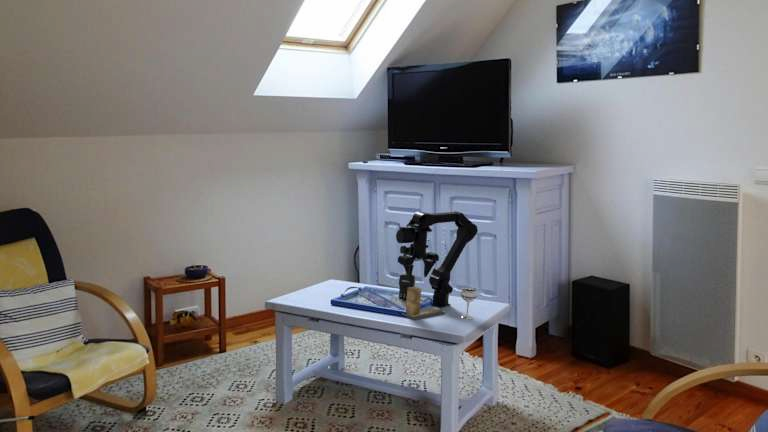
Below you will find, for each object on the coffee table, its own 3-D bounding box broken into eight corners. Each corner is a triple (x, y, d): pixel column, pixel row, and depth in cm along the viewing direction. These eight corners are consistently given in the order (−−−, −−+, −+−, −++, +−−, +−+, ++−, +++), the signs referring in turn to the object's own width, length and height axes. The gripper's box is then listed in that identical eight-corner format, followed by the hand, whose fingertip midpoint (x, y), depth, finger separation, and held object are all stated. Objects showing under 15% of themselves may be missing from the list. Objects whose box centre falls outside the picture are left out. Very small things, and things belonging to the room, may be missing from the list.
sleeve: (413, 312, 278) (414, 286, 276) (419, 314, 275) (421, 288, 273) (405, 313, 276) (407, 287, 274) (412, 316, 272) (414, 290, 271)
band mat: (427, 306, 289) (427, 303, 289) (445, 313, 281) (445, 310, 280) (397, 312, 278) (397, 308, 278) (414, 320, 270) (414, 316, 270)
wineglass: (464, 313, 282) (466, 286, 280) (478, 317, 278) (480, 289, 276) (455, 316, 277) (457, 288, 275) (469, 321, 273) (472, 292, 271)
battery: (396, 298, 298) (398, 273, 296) (399, 296, 301) (401, 271, 299) (411, 301, 295) (413, 276, 294) (414, 299, 299) (416, 274, 297)
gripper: (423, 236, 293) (420, 271, 296) (390, 240, 282) (388, 276, 284) (441, 241, 285) (438, 277, 287) (407, 245, 273) (405, 282, 276)
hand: (417, 278), depth 284 cm, fingers open, 9 cm apart
